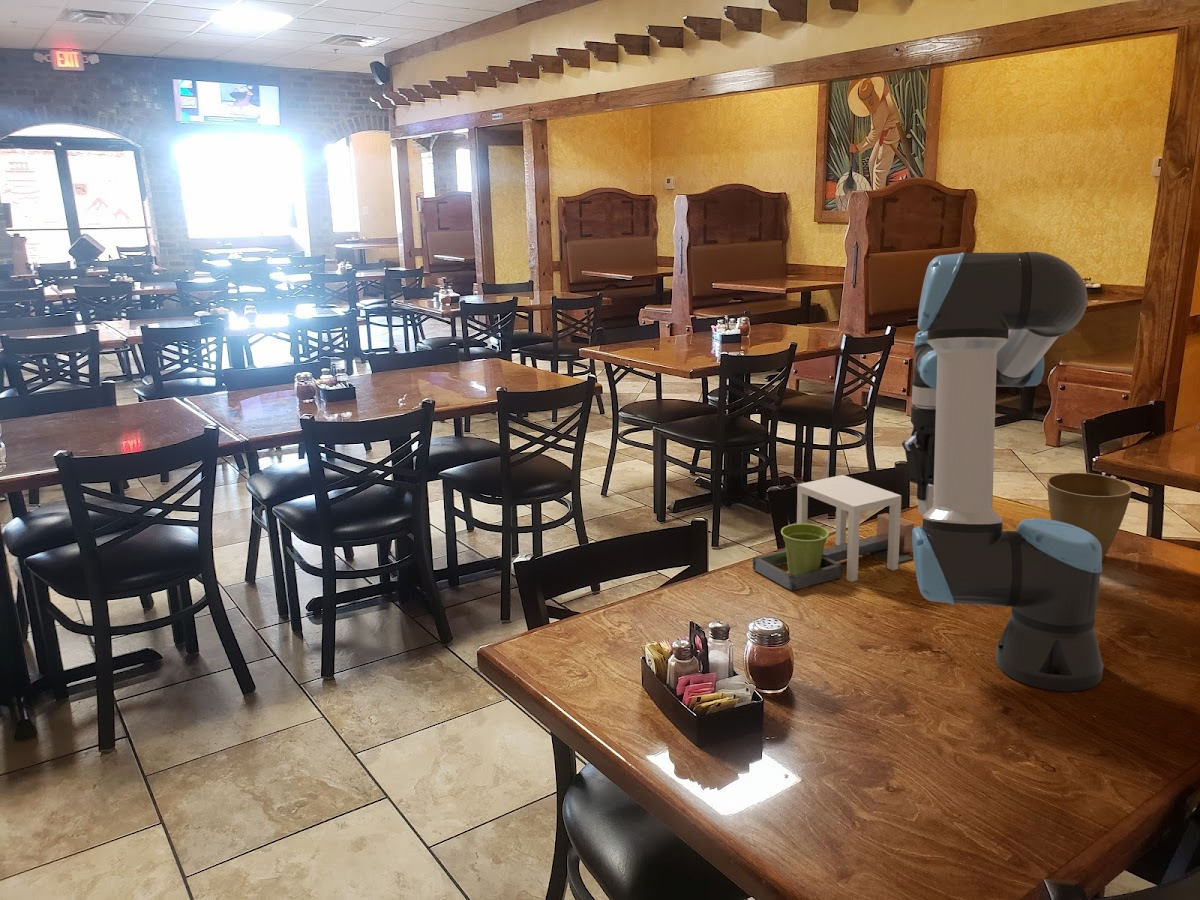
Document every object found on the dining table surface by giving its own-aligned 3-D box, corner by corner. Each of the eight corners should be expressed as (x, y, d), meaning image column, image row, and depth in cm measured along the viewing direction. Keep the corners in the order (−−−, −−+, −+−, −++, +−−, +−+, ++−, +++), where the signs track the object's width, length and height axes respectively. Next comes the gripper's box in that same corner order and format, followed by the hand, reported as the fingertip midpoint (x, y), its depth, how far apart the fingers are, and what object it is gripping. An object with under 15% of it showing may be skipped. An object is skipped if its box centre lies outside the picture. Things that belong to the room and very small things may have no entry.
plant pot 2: (1024, 554, 188) (1030, 480, 184) (1074, 540, 194) (1081, 468, 190) (1088, 579, 175) (1097, 500, 171) (1140, 564, 181) (1150, 487, 177)
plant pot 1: (835, 568, 185) (836, 528, 183) (816, 585, 178) (817, 543, 176) (792, 559, 191) (793, 520, 188) (772, 575, 183) (772, 534, 181)
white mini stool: (920, 562, 186) (924, 490, 182) (851, 581, 179) (854, 506, 175) (862, 537, 201) (864, 470, 197) (796, 554, 193) (797, 484, 189)
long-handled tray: (920, 555, 189) (922, 526, 187) (791, 590, 175) (791, 560, 173) (877, 537, 200) (878, 510, 198) (752, 569, 186) (752, 540, 184)
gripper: (939, 398, 196) (933, 503, 202) (893, 406, 190) (889, 514, 196) (967, 404, 189) (960, 512, 195) (920, 412, 184) (915, 523, 190)
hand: (924, 513), depth 196 cm, fingers closed
